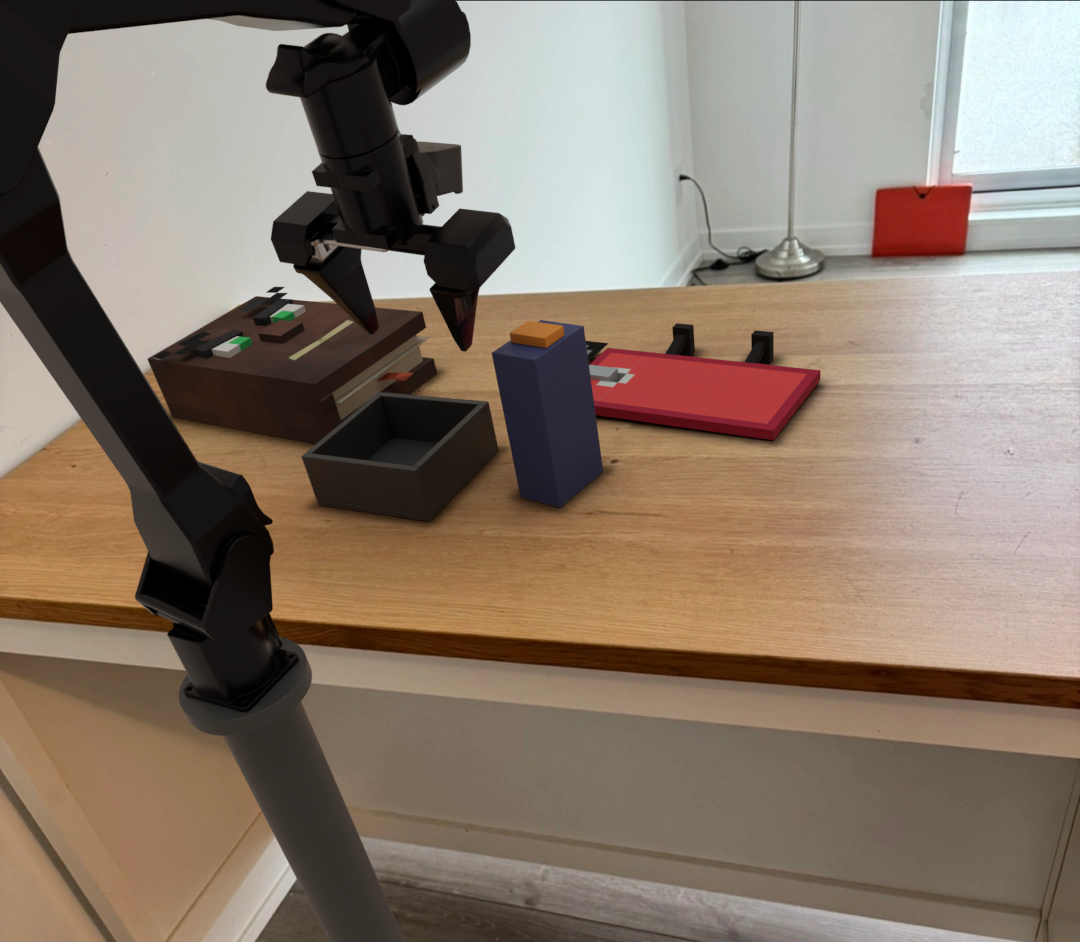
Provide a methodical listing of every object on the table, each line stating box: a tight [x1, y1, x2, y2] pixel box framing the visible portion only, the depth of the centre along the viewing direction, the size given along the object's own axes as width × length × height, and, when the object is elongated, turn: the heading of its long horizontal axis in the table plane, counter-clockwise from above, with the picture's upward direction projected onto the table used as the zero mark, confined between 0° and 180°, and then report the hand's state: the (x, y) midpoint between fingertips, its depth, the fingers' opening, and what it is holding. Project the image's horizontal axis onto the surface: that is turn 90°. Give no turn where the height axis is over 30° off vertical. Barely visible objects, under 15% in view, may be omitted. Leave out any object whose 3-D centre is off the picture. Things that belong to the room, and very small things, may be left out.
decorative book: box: [147, 286, 438, 445], centre depth 110 cm, size 19×8×30 cm
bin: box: [300, 392, 500, 523], centre depth 92 cm, size 12×12×5 cm
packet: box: [491, 319, 604, 508], centre depth 84 cm, size 6×4×14 cm
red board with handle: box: [586, 322, 822, 441], centre depth 99 cm, size 30×3×15 cm
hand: (419, 339), depth 82 cm, fingers open, 9 cm apart
